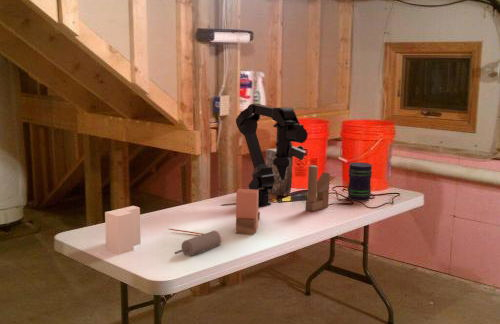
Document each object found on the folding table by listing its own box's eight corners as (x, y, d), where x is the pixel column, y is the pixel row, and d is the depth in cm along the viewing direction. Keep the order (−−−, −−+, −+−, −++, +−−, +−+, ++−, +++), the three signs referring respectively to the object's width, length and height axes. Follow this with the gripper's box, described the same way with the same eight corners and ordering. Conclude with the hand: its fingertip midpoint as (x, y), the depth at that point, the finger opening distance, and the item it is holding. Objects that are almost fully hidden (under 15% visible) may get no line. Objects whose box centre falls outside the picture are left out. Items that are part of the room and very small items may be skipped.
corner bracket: (119, 254, 163) (118, 216, 161) (97, 246, 170) (96, 209, 168) (147, 246, 171) (146, 209, 169) (125, 238, 178) (124, 203, 176)
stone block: (263, 192, 245) (264, 148, 242) (274, 190, 250) (275, 147, 246) (283, 197, 235) (284, 152, 232) (294, 195, 240) (296, 151, 236)
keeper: (238, 226, 192) (238, 188, 190) (257, 227, 191) (258, 189, 189) (236, 230, 187) (236, 192, 185) (256, 231, 186) (256, 193, 184)
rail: (245, 217, 204) (245, 205, 203) (260, 218, 203) (261, 205, 202) (236, 233, 185) (236, 219, 184) (253, 234, 184) (253, 220, 183)
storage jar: (347, 200, 233) (349, 166, 231) (347, 194, 243) (348, 162, 240) (371, 201, 232) (373, 167, 229) (369, 195, 241) (371, 162, 239)
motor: (230, 242, 175) (228, 227, 175) (182, 261, 158) (180, 245, 157) (179, 239, 190) (177, 225, 189) (130, 256, 172) (128, 241, 172)
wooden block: (328, 207, 221) (330, 164, 218) (312, 212, 214) (313, 167, 210) (321, 205, 224) (323, 162, 220) (305, 210, 216) (306, 166, 213)
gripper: (303, 144, 198) (302, 185, 200) (306, 137, 216) (304, 175, 219) (273, 143, 199) (272, 184, 202) (278, 136, 217) (277, 174, 220)
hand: (282, 179), depth 211 cm, fingers closed
